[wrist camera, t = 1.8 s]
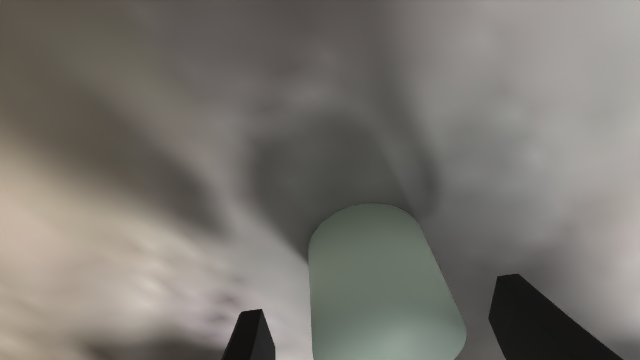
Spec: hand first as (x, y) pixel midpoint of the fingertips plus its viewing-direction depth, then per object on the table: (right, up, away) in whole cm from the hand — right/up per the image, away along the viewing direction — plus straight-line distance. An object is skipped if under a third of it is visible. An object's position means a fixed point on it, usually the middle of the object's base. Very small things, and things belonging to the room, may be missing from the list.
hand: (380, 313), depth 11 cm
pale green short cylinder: (0, +2, +2) cm, 3 cm away
